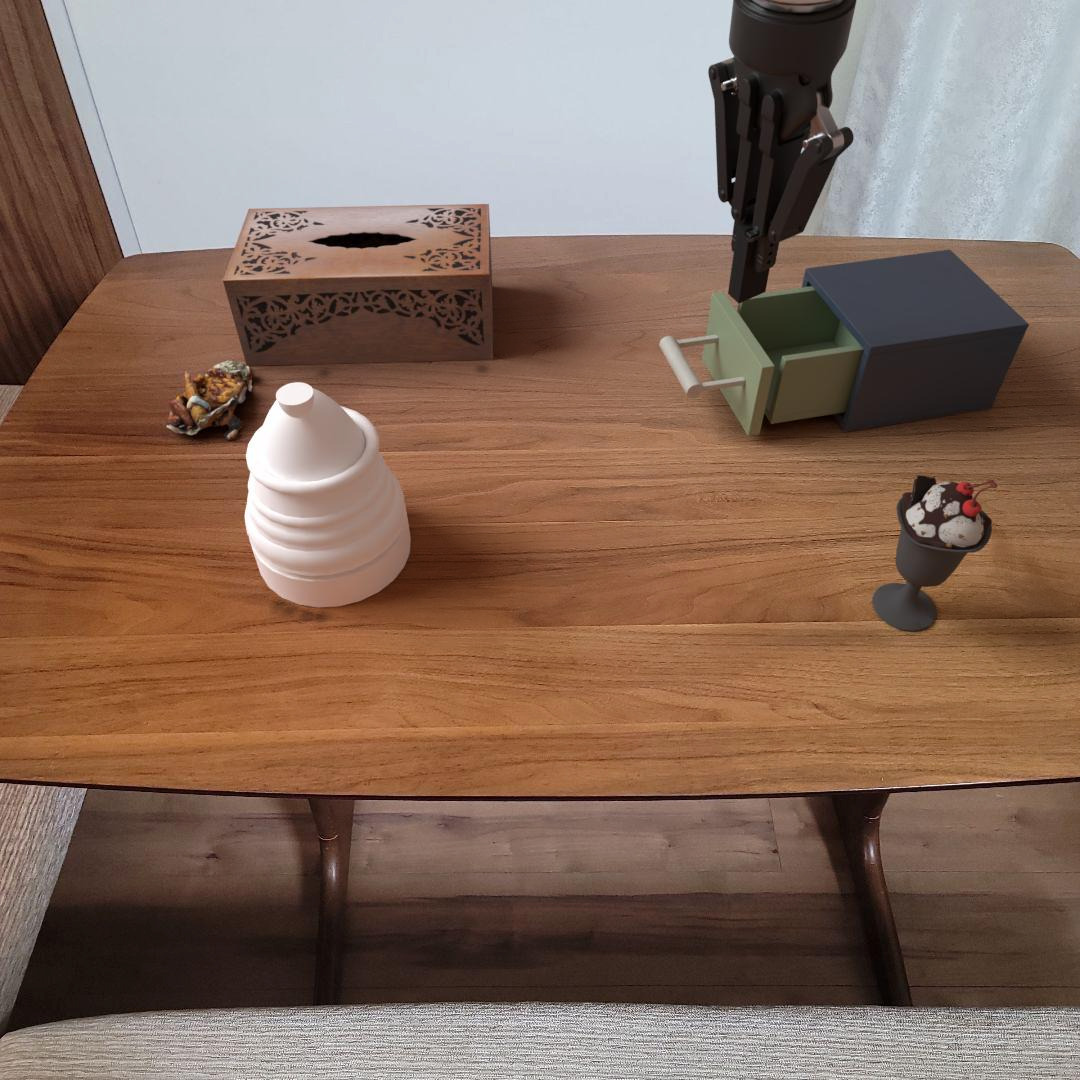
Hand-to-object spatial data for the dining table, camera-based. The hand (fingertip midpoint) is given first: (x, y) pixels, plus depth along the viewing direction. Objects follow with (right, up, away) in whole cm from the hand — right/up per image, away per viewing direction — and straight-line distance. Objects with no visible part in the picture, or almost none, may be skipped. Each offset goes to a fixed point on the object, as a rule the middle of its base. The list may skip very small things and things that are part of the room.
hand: (746, 292), depth 76 cm
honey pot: (-34, -21, +3) cm, 41 cm away
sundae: (+12, -26, -2) cm, 29 cm away
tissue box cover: (-35, +3, +26) cm, 44 cm away
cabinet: (+18, -4, +19) cm, 27 cm away
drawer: (+5, -5, +16) cm, 18 cm away
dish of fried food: (-50, -7, +16) cm, 53 cm away
